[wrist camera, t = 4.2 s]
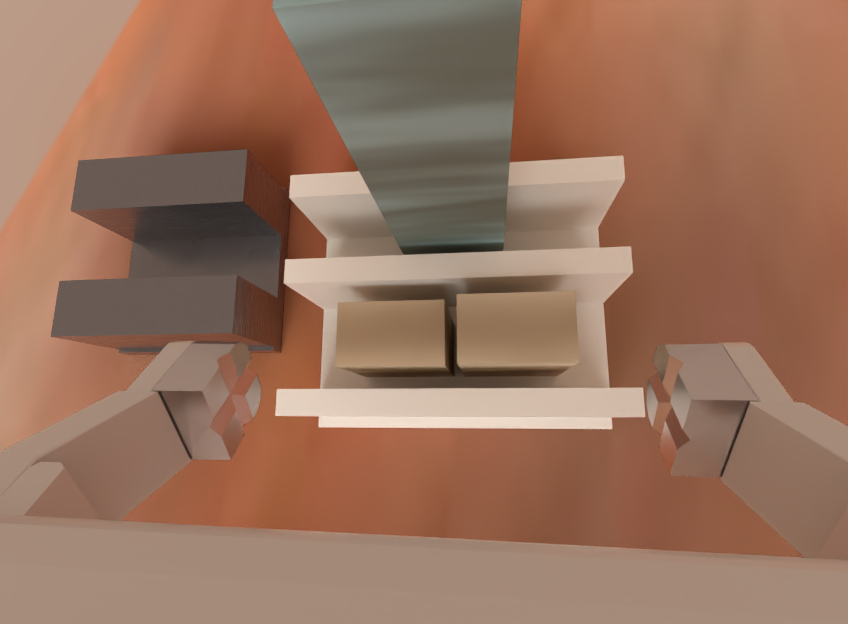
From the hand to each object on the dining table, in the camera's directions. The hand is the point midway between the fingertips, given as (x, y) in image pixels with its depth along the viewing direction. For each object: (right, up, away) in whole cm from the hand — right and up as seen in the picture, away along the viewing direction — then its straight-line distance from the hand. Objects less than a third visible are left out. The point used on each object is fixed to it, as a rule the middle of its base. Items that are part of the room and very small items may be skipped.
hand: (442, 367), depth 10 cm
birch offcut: (-1, -1, +19) cm, 19 cm away
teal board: (+2, +4, +19) cm, 20 cm away
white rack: (+2, +1, +20) cm, 20 cm away
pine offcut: (+4, -1, +18) cm, 18 cm away
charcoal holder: (-14, +4, +22) cm, 27 cm away
